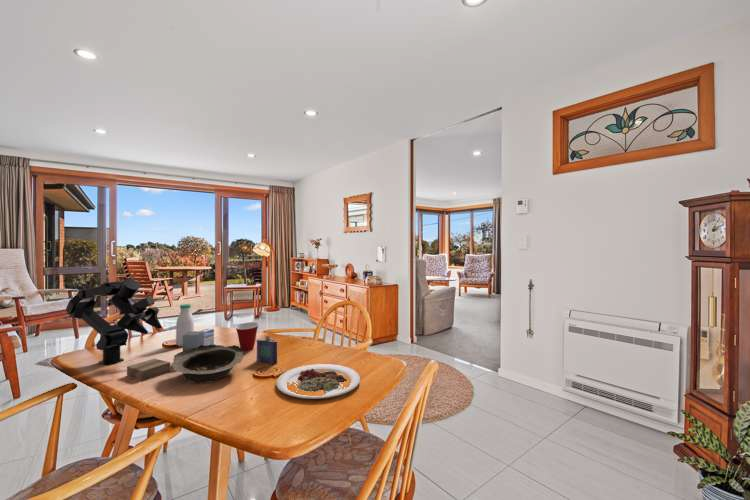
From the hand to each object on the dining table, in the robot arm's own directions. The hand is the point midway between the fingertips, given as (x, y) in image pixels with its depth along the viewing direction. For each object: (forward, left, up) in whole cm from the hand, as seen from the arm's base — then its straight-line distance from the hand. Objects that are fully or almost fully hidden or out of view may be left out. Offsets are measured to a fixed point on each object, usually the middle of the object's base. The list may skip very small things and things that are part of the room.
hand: (154, 330), depth 135 cm
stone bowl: (+31, +2, -14) cm, 34 cm away
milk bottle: (-14, +24, -14) cm, 31 cm away
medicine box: (0, +24, -14) cm, 28 cm away
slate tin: (+11, +10, -14) cm, 20 cm away
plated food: (+72, +15, -14) cm, 75 cm away
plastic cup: (+19, +32, -14) cm, 40 cm away
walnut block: (+9, -7, -14) cm, 18 cm away
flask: (+40, +23, -14) cm, 48 cm away
